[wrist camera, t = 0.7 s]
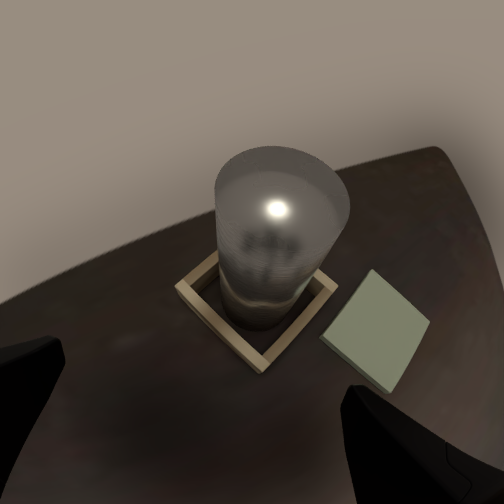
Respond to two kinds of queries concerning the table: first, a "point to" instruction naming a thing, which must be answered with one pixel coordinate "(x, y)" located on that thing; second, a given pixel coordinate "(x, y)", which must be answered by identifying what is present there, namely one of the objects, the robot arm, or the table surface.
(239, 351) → the wooden square frame
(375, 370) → the green pad
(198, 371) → the table surface
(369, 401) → the robot arm
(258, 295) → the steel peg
